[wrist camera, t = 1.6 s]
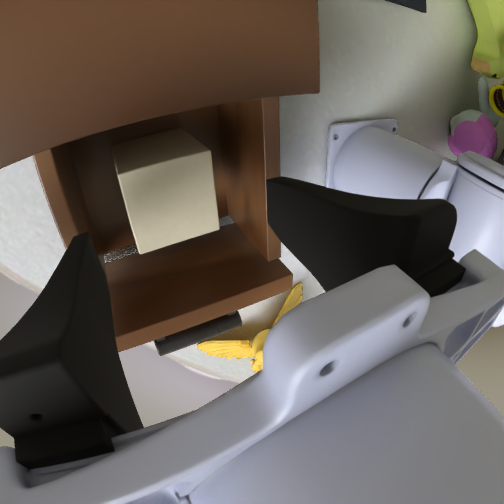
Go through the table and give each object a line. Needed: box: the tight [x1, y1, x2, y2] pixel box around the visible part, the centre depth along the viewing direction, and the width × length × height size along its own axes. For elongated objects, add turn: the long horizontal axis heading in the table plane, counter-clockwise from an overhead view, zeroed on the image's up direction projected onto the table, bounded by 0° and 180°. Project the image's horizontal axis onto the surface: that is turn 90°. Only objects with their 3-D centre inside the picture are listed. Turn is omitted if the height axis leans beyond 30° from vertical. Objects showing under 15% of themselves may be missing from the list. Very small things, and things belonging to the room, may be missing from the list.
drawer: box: [33, 97, 293, 356], centre depth 17 cm, size 19×11×7 cm, turn 3°
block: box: [111, 128, 220, 254], centre depth 15 cm, size 4×4×5 cm
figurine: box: [197, 283, 303, 372], centre depth 30 cm, size 12×12×9 cm
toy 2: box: [448, 77, 501, 159], centre depth 28 cm, size 13×6×15 cm
